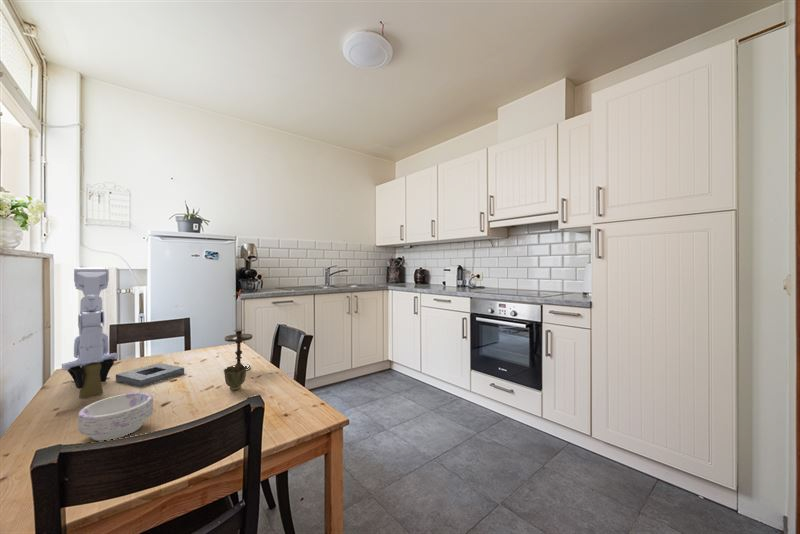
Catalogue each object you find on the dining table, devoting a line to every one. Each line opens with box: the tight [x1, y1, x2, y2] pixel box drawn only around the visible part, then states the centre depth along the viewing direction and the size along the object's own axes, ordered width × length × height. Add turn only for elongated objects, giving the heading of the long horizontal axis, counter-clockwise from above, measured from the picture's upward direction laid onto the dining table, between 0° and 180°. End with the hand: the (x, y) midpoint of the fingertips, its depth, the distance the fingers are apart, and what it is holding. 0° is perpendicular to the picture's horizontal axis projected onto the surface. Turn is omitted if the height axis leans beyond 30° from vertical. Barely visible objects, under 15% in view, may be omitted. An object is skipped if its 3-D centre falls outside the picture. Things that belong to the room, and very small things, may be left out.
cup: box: [223, 365, 247, 392], centre depth 117 cm, size 8×7×8 cm
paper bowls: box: [77, 392, 154, 442], centre depth 87 cm, size 15×15×8 cm
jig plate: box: [115, 362, 185, 388], centre depth 129 cm, size 16×16×2 cm
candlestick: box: [224, 289, 253, 369], centre depth 140 cm, size 11×11×35 cm
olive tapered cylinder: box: [78, 363, 104, 399], centre depth 112 cm, size 6×6×11 cm
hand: (91, 384), depth 112 cm, fingers open, 6 cm apart
